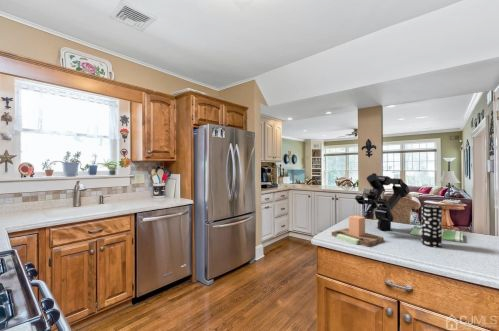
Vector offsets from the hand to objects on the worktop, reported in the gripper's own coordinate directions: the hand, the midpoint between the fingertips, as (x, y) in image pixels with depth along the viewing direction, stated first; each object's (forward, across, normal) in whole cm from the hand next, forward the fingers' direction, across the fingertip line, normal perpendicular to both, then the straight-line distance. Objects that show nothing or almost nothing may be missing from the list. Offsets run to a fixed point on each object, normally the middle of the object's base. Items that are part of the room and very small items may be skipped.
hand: (365, 212), depth 138 cm
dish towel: (-14, +22, +34) cm, 43 cm away
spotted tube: (0, +28, +19) cm, 33 cm away
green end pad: (+22, 0, -3) cm, 22 cm away
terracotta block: (+14, 0, +2) cm, 14 cm away
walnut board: (+16, 0, +3) cm, 16 cm away
